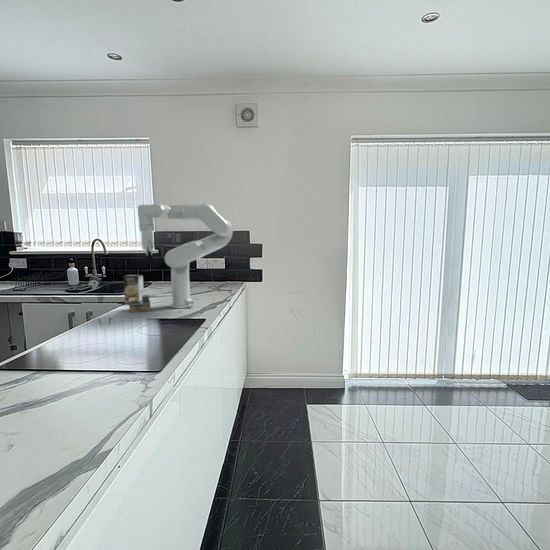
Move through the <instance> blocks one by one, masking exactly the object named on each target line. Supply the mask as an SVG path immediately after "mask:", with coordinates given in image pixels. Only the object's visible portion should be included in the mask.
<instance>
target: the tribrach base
mask: <svg viewBox="0 0 550 550" xmlns="http://www.w3.org/2000/svg"><path fill="white" fill-rule="evenodd" d="M128 306H129V305H128ZM151 309H152V308H151V304H150V305H135V306H129V313H138V312H139V313H140V312H149V310H151ZM151 311H152V310H151Z"/></svg>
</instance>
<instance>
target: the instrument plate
mask: <svg viewBox="0 0 550 550" xmlns="http://www.w3.org/2000/svg"><path fill="white" fill-rule="evenodd" d="M142 296H143V300H140V299H138V300H137V297H130V298H129V305H128V306H135V305H150V306H151V301H150V296H149V294H144V295H142Z"/></svg>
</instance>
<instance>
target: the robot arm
mask: <svg viewBox="0 0 550 550" xmlns="http://www.w3.org/2000/svg"><path fill="white" fill-rule="evenodd" d="M137 217H138V218H137V219H138V228H139V232H141V247H142V250H144V251H145V261H146V263H147V264H149V263H151V264H152V263H154V257H153V256H154V255H153V250H154V247H155V246H154V245H155V244H154V233H153V232H155V222H154V220H155V219H163V220H164V219H166V220H168V219H171V220H183V221H201V222H202V223H203V224H205V226H206V227H207V228H209V230H211V232H213V234H211V235H208V236H206V237H204V238H201V239H199V240H191V241H188V242H186V243H184V244H182V245H181V244H180V245H179V246H176V247H174V248H172V249H169V250H168V251H167V252H166V253H165V255H164V262H165V264H166V265H167V267H170V269H171V270H170V278H171V281H170V284H171V297H172V299H171V300H172V302H171V303H170V304H169V307H170V309H186V308H191V307H193V306H194V305H196V304H197V300H196V299H193V297H191V286H190V285H191V284H190V264H191V263H192V262H194V261H196V260H199V259H201V258H204V257H205V256H207V255H209V254H211V253H213V252H217V250H220V249H222V248H224V247H226V246H227V245H228V244H229V242H230V241H231V239H232V237H233V234H234V233H233V232H234V227H233V225H232V223H231V222H230V220H227V219H224V218H223V217H222V216H221V215H220V214H219V213H218V212H217V210H216V208H215V206H213V205H212V204H210V203H182V204H178V205H177V204H175V205H174V204H173V205H172V204H162V203H153V204H140V205H138V206H137ZM154 218H155V219H154Z"/></svg>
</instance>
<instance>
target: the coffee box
mask: <svg viewBox="0 0 550 550" xmlns="http://www.w3.org/2000/svg"><path fill="white" fill-rule="evenodd" d="M143 275H144V274H126V275H123V278H122V279H123V293H124V294H123V295H124V296H123V297H124V304H126V305H128V304H129V298H130V297H137V300H138V299H140V300H143V296H142V295H145V294H144V293H145V291H144V289H145V287H144V276H143Z"/></svg>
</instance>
